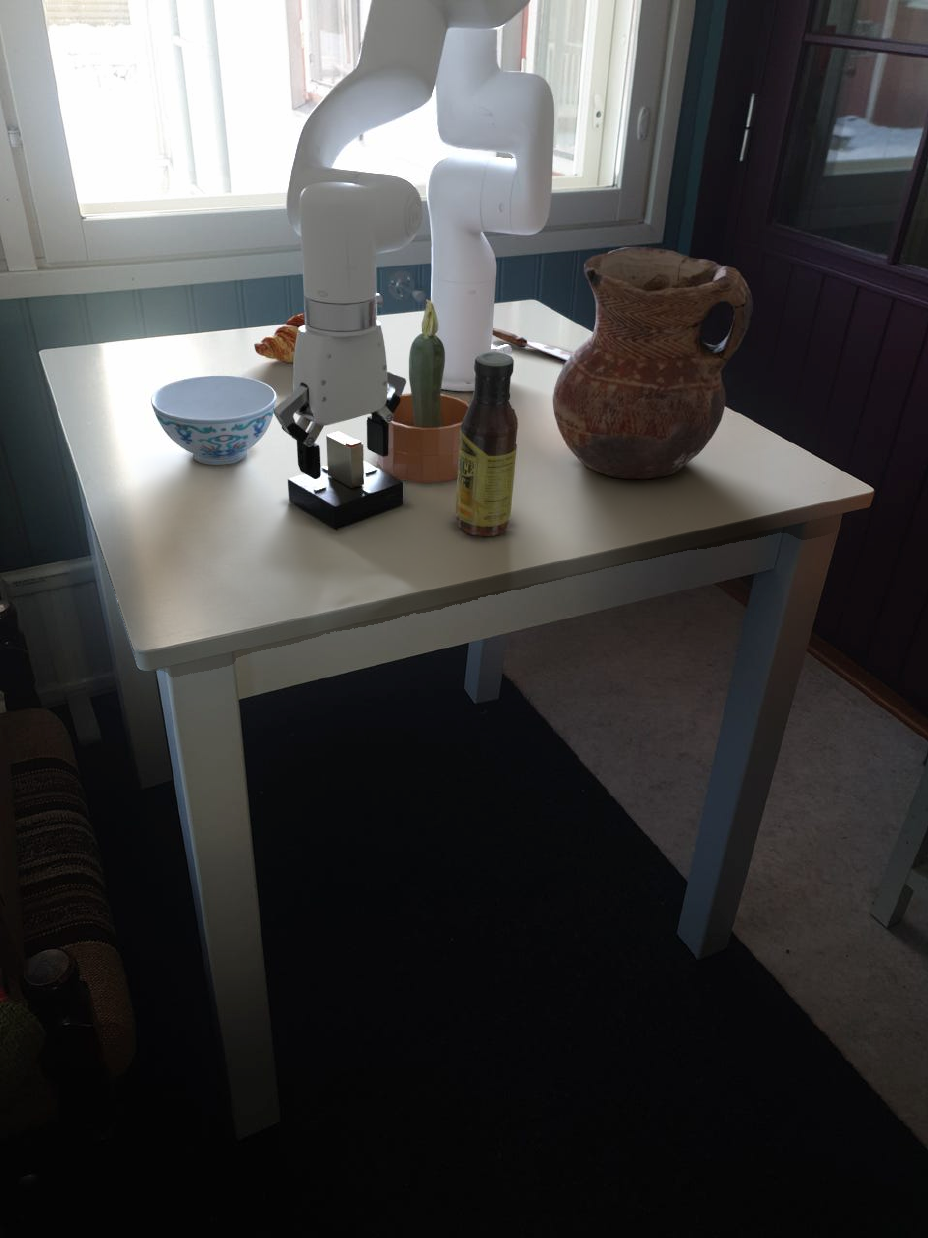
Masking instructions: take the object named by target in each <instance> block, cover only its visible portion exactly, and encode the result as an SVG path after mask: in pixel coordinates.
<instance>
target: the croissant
mask: <svg viewBox="0 0 928 1238" xmlns="http://www.w3.org/2000/svg"><path fill="white" fill-rule="evenodd" d="M304 325H305V312H304V313H299V314H295V315H293V316H291V317H290V318H289V319H287V320H286V324H285V325H282V326H280V327H278V328H277V329H275V332H274V333H273V335H266V336H265V337H264V338H263V339H262V340H261V341H260V342H256V343H254V350H255V352H256V354H258V355H259V356H262V357H265V358H266V359H270V360H278V361H281V362H285V363H286V362H287V363H290V364H291V363H292V364H294V353H295V345H296V338H297V333H298V329H299V327H301V326H304Z"/></svg>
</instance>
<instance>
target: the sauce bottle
mask: <svg viewBox="0 0 928 1238" xmlns="http://www.w3.org/2000/svg"><path fill="white" fill-rule="evenodd" d="M514 364H515V360H514V358H513V357H512V355H511V356H509V355H507V354H503V353H499V352H486V353H485V352H484V353H481V354H479V355H478V356H476V357H475V362H474V371H475V389H474V391H473V394H472V395H473V396H472V398H471V400H470V402H469V404H470V405H469V407H468V410H467V412H466V414H465V417H464V419H463V422H462V424H461V427H460V442H459V459H458V478H457V482H456V502H455V503H456V504H455V505H456V506H455V513H456V524H457V525H458V527H459V529H461V530H462V531H464V533H466V534H467V535H470V536H476V537H477V536H478V537H495V536H498V535H499V536H500V535H501V534H503V533H505V531H506V530H507V529H508V527H509V523H510V519H511V516H512V515H511V514H512V503H513V493H514V484H515V483H514V482H515V474H516V473H515V472H516V471H515V470H516V461H517V451H518V449H517V448H518V444H517V440H518V439H517V436H518V429H519V426H518V425H519V422H518V417H517V414H516V410H515V409H514V408H513V407H512V404H511V402H510V399H511V392H510V390H511V381H512V378H511V377H512V375H513V373H514V367H515V365H514Z"/></svg>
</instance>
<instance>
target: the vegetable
mask: <svg viewBox="0 0 928 1238" xmlns="http://www.w3.org/2000/svg"><path fill="white" fill-rule="evenodd" d="M425 303H426V305H425V307H426V308H425V309H424V311H423V317H422V321H421V333H420V334H418V335H417V336H416V337H415V338H414V340H413V341H412V343H411V345H410V348H409V354H408V381H409V387H410V393H411V396H412V408H413V423H414V427H422V428H438V427H442V418H441V410H440V394H442V392H441V391H442V389H441V385H442V378H443V372H444V366H445V350H444V346H443V343H442V342H441V340H440V339H439V338H438V337H437V336H436V335H435V333H437V331H438V327H439V326H438V320H437V317H436V312H435V310H434V306H433V303H432V302H431V300H430V299H428V298H427V299H425Z"/></svg>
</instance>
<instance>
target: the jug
mask: <svg viewBox="0 0 928 1238" xmlns="http://www.w3.org/2000/svg"><path fill="white" fill-rule="evenodd" d="M583 274H584V275H585V277H586V279H587V282H588V284H589V286H590V289H591V290H592V293H593V296H594V301H595V324H594V328H593V332H592V334H591V336H590V337H589V338H587V340H586V341H584V342H583V343H582V344H581V345H580V346H579V347H577V348H576V350H574V352H572V353H571V354H572V355H571V356H570V357H569V359H568V360H567V361H565V363H564V365H562V368H561V370H560V372H559V374H558V376H557V378H556V381H555V384H554V387H553V394H552V410H553V416H554V419H555V421H556V422H555V423H556V425H557V429H558V432H559V433H560V435H561V437H562V439H563V441H564V443H565V445H566V446H567V447H568V449H569V450H570V451H571V453H572V454H573V455H574V456H575V457H576V458H577V459H578V460H579V461H580V462H581V463H582V464H583V465H584V466H585V467H586V468H588V469H590V470H592V471H594V472H596V473H599V474H602V475H606V476H608V477H611V478H618V479H633V480H635V479H636V480H637V479H638V480H647V479H659V478H663V477H668V476H670V475H673V474H675V473H677V472H679V470H681V469H682V468H683V467H684V466H686V465H687V464H688V463H689V462H691V461H692V460H693V459H694V458H696V456H698V455H699V454H700V453H701V452H702V451H703V450H704V448H705V447H706V446H707V444H708V443H710V441H711V439H712V438H713V437H714V435H715V433H716V432H717V430H718V428H719V426H720V424H721V421H722V418H723V415H724V412H725V408H726V389H725V386H724V383H723V380H722V370H723V369H724V367H725V366H726V365H727V363H728V360H730V358H731V357H732V356H733V354H734V353H735V352H736V351H737V350H738V349H739V347H740V345H741V342H742V341H743V339H744V337H745V336H746V333H747V331H748V329H749V327H750V323H751V317H752V315H753V312H754V305H753V304H754V303H753V294H752V293H751V290H750V288H749V286H748V284H747V281H746V280H745V278H744V277H743V276H742V274H741V273H740V271H739V270H737V268H735V267H732V266H729V265H724V266H723V265H720V264H718V263H717V262H715V261H712V260H709V259H707V258H705V259H702V258H694V257H690V256H688V255H684V254H683V253H679V252H676V251H675V250H669V249H664V248H658V247H657V248H656V247H649V246H626V247H620V248H617V249H614V250H610V251H608V252H607V253H602V254H598V255H593V256H591V257H590V258H588V259H587V260H586V261H585V262H584V265H583ZM724 302H726V303H727V304H729V305H730V306H731V307H732V308H733V321H732V323H731V327H730V329H729V332H728V334H727V336H726V337H725V338H724V340H722V341H721V342H720V343H718V344H714V345H712V344H708V343H706V342H705V341H704V340H703V333H704V329H705V324H706V322H707V319H708V316H709V314H710V313H711V311H712V309H714V308H715V307H716V306H718V304H719V303H724Z"/></svg>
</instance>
